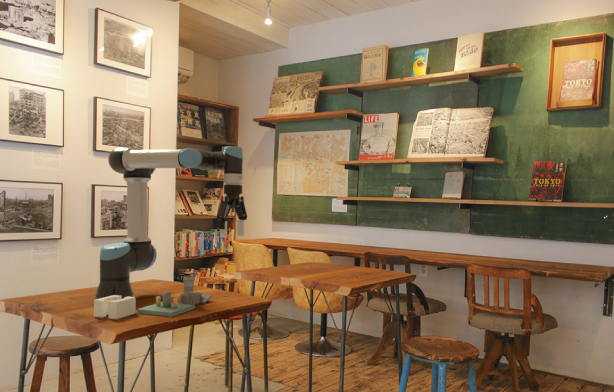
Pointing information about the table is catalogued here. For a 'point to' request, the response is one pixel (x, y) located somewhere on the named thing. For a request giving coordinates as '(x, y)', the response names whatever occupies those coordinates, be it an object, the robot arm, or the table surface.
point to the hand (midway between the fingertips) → (232, 236)
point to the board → (166, 307)
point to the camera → (192, 293)
